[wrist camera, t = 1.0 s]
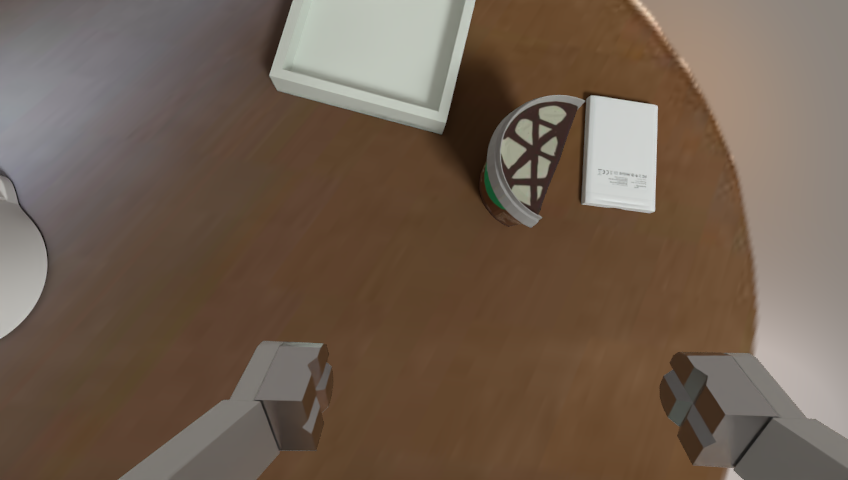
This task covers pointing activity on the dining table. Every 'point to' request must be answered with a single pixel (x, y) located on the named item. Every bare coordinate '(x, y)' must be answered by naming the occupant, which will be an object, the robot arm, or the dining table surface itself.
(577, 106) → the food container
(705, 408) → the robot arm
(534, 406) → the dining table surface
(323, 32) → the tray
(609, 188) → the external hard drive
